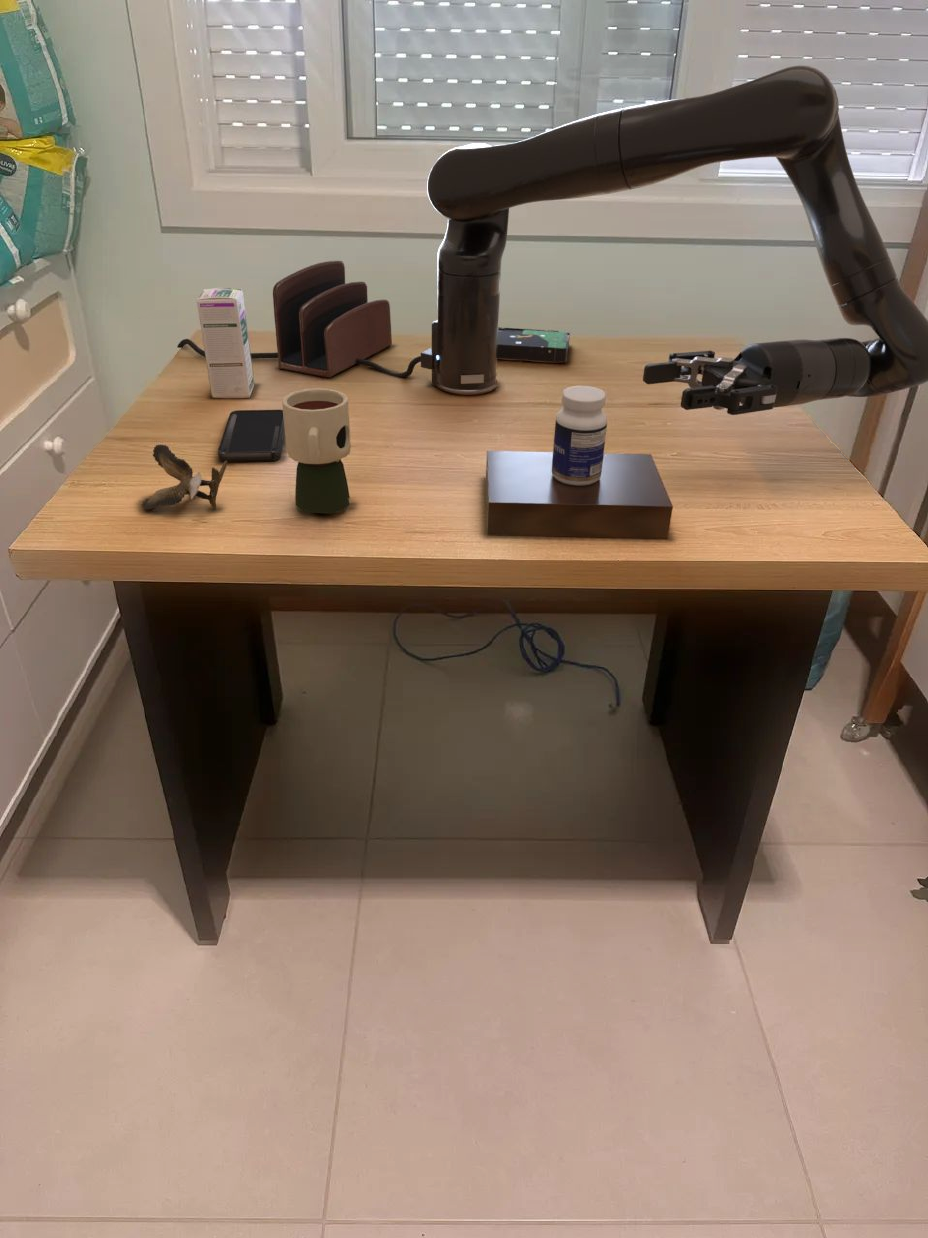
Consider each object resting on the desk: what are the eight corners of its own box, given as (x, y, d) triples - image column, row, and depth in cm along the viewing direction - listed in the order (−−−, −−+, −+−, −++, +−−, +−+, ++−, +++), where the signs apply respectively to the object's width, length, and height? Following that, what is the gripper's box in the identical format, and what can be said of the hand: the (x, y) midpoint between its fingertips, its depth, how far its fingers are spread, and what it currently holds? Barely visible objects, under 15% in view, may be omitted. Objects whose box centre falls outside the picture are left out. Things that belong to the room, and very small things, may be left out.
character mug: (352, 529, 98) (345, 417, 91) (287, 530, 98) (275, 417, 91) (356, 486, 107) (350, 381, 100) (296, 486, 107) (286, 381, 100)
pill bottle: (547, 466, 104) (553, 383, 98) (595, 465, 104) (604, 383, 99) (555, 487, 99) (563, 402, 93) (605, 487, 99) (616, 401, 94)
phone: (216, 453, 112) (231, 410, 124) (218, 462, 112) (232, 417, 124) (280, 452, 112) (287, 409, 125) (281, 460, 113) (288, 416, 125)
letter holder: (277, 369, 142) (268, 277, 135) (344, 337, 157) (339, 253, 149) (330, 379, 139) (323, 286, 131) (393, 345, 154) (390, 260, 146)
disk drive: (478, 360, 149) (567, 364, 147) (479, 343, 147) (568, 347, 146) (485, 341, 157) (569, 345, 156) (485, 325, 156) (570, 329, 154)
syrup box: (250, 398, 131) (238, 297, 123) (210, 398, 131) (195, 297, 123) (255, 385, 136) (244, 287, 128) (216, 385, 136) (202, 287, 128)
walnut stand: (487, 534, 98) (488, 502, 96) (485, 480, 110) (486, 450, 107) (667, 538, 98) (673, 506, 96) (646, 484, 110) (651, 453, 107)
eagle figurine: (232, 478, 106) (158, 461, 105) (224, 446, 99) (145, 427, 99) (212, 534, 103) (136, 516, 103) (203, 504, 96) (121, 484, 96)
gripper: (754, 324, 108) (637, 335, 103) (831, 360, 97) (703, 374, 92) (742, 384, 112) (629, 397, 107) (814, 426, 101) (691, 441, 96)
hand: (663, 386), depth 100 cm, fingers open, 8 cm apart
